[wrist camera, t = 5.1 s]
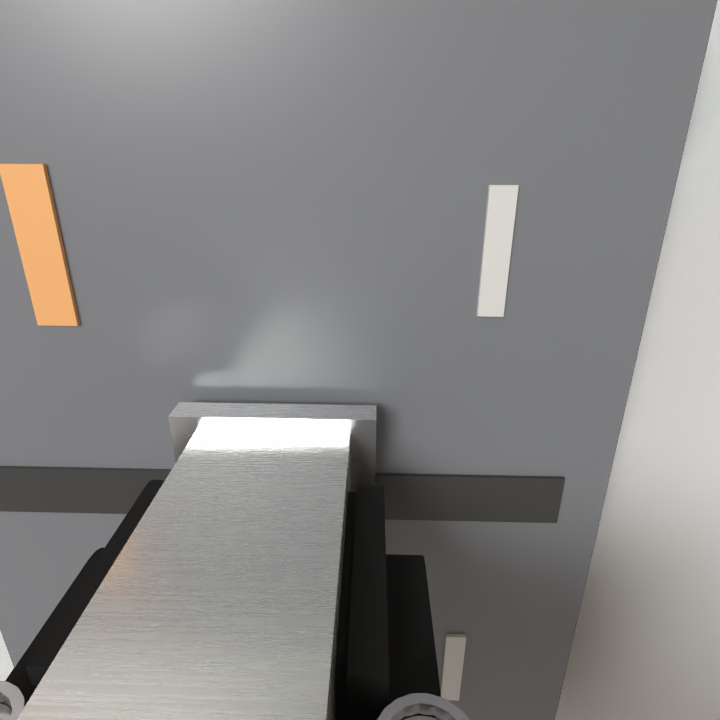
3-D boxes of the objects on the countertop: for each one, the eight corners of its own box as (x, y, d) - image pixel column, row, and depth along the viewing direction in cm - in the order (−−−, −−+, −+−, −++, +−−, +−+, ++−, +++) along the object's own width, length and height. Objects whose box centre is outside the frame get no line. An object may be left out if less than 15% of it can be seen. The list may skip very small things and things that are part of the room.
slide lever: (376, 405, 10) (377, 935, 3) (373, 591, 12) (370, 1174, 5) (179, 402, 11) (-206, 912, 4) (206, 587, 13) (-9, 1155, 6)
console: (647, -3, 10) (732, -47, 8) (520, 692, 18) (543, 777, 15) (-107, -1, 10) (-250, -43, 8) (88, 680, 18) (45, 761, 16)
